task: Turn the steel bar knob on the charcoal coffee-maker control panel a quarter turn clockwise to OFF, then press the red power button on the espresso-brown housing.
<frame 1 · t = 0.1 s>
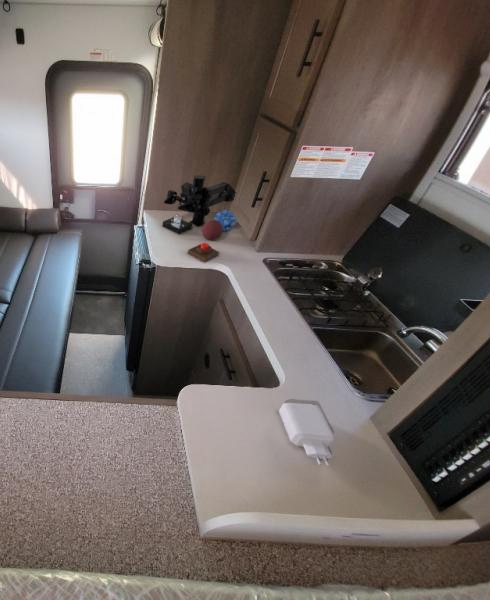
hand: (171, 205, 161), 17 cm above the worktop, tool horizontal, fingers open, 9 cm apart
dial panel: (176, 227, 178), on the worktop
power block: (202, 254, 156), on the worktop
decorative ball: (209, 239, 169), on the worktop
charger: (306, 440, 83), on the worktop
power button: (204, 246, 153), point 4 cm above the worktop, slide at 0.1 cm
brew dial: (178, 218, 175), point 5 cm above the worktop, hinge at 90.0°
blue bumpy cluster: (222, 232, 175), on the worktop
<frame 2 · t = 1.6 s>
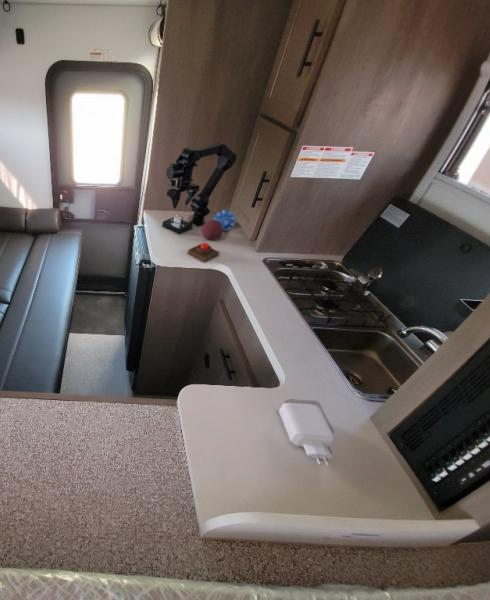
hand: (180, 206, 171), 12 cm above the worktop, tool pointing down, fingers open, 9 cm apart
nothing on the worktop moved.
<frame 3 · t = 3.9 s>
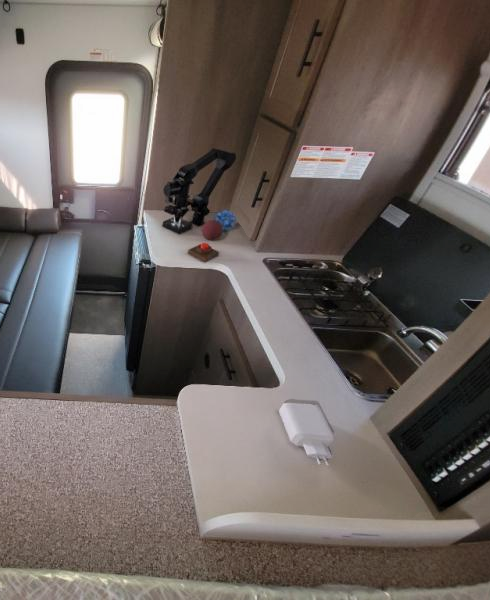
hand: (177, 221, 176), 4 cm above the worktop, tool pointing down, fingers closed on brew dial
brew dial: (178, 218, 175), point 5 cm above the worktop, hinge at 90.0°, touching gripper
everything else where it was.
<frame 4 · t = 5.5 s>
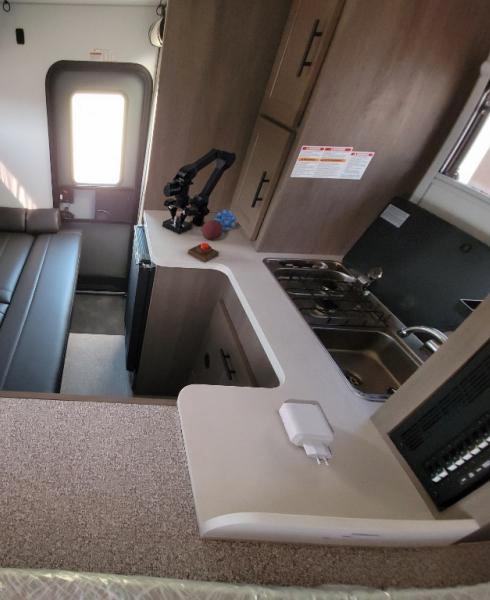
hand: (177, 222, 176), 3 cm above the worktop, tool pointing down, fingers open, 5 cm apart
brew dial: (178, 218, 175), point 5 cm above the worktop, hinge at 0.2°
everything else where it was.
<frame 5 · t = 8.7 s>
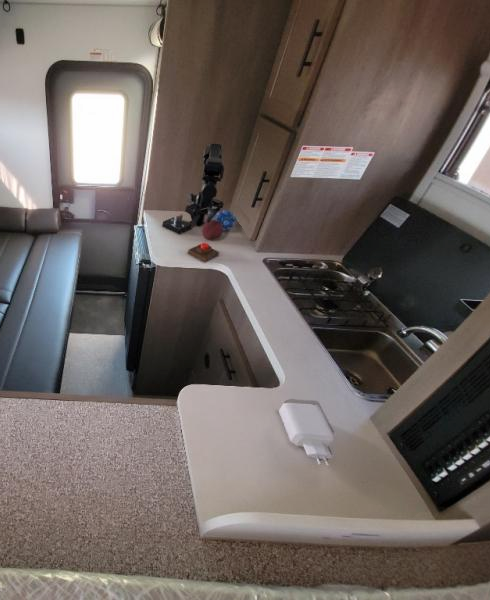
hand: (200, 224, 153), 12 cm above the worktop, tool pointing down, fingers open, 9 cm apart
nothing on the worktop moved.
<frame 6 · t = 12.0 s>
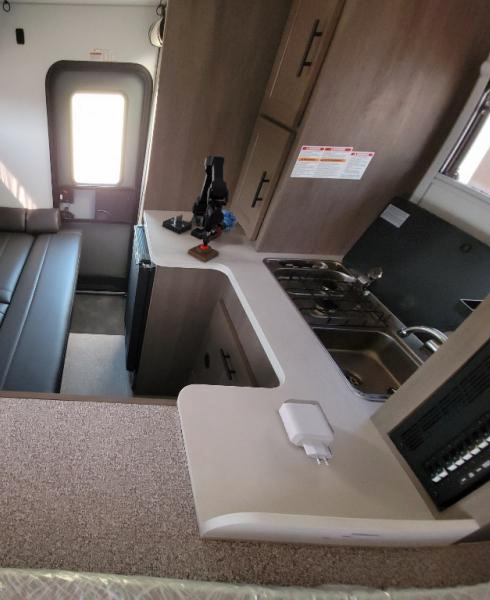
hand: (204, 245, 153), 5 cm above the worktop, tool pointing down, fingers closed, pressing on power button
power button: (204, 247, 153), point 4 cm above the worktop, slide at -0.5 cm, touching gripper
everything else where it was.
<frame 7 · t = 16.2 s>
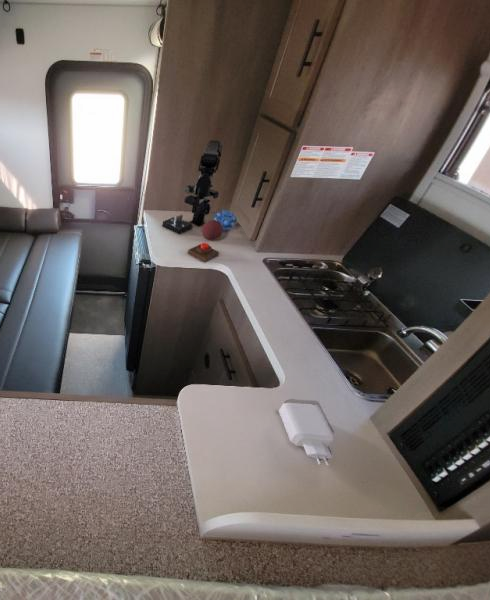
hand: (198, 214, 161), 13 cm above the worktop, tool pointing down, fingers closed
power button: (204, 246, 153), point 4 cm above the worktop, slide at 0.1 cm
everything else where it was.
at the end: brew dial at +0° (first picture: +90°); power button pushed in 1.1 cm at the most during the clip, back to where it started at the end; power button slide at 0.1 cm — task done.
